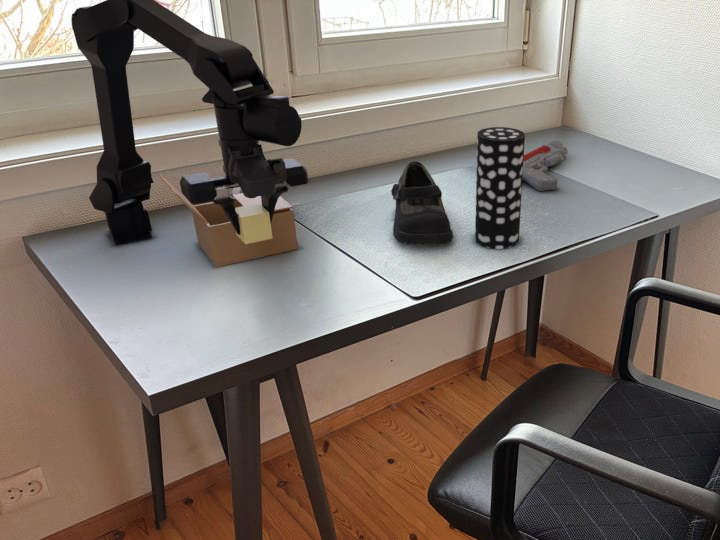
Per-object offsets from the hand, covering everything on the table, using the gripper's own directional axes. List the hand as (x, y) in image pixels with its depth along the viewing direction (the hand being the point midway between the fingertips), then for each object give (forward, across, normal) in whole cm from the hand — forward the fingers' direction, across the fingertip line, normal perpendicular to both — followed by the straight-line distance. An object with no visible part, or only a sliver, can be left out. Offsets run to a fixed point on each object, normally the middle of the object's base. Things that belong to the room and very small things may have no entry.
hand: (253, 230), depth 120 cm
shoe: (+8, +33, +3) cm, 34 cm away
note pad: (+1, 0, 0) cm, 1 cm away
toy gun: (+8, +75, +17) cm, 77 cm away
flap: (-3, -7, +12) cm, 14 cm away
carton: (+8, +2, +12) cm, 14 cm away
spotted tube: (+8, +43, -9) cm, 45 cm away
